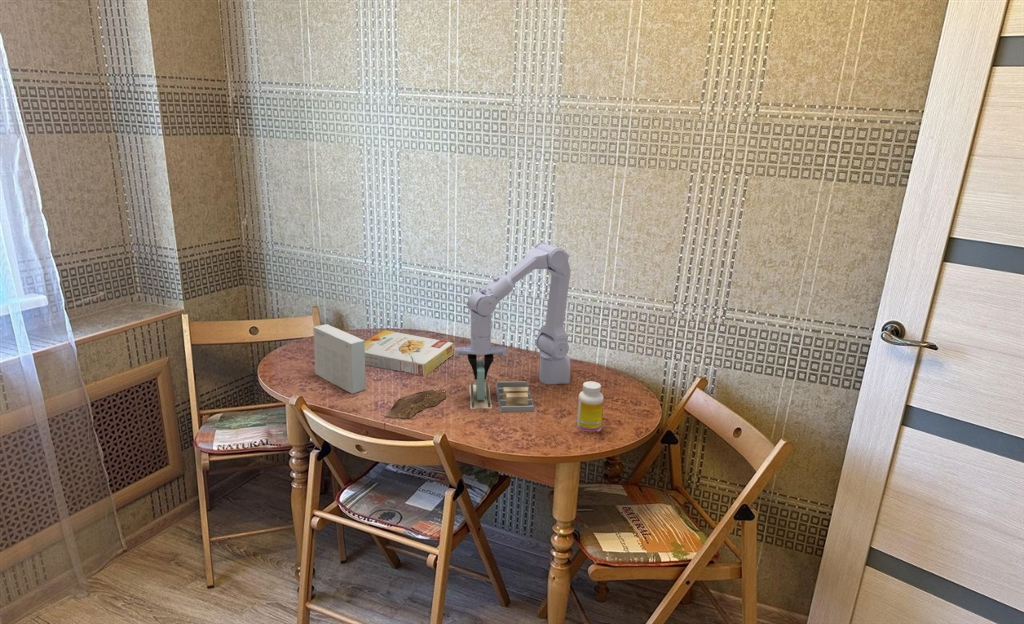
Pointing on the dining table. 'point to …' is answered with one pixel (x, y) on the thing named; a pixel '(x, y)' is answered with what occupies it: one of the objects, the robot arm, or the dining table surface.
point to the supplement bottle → (590, 407)
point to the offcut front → (516, 399)
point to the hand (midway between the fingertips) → (480, 378)
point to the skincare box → (339, 358)
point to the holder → (480, 403)
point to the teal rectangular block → (480, 379)
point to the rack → (503, 402)
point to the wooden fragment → (415, 403)
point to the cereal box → (406, 352)
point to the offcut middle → (514, 390)
